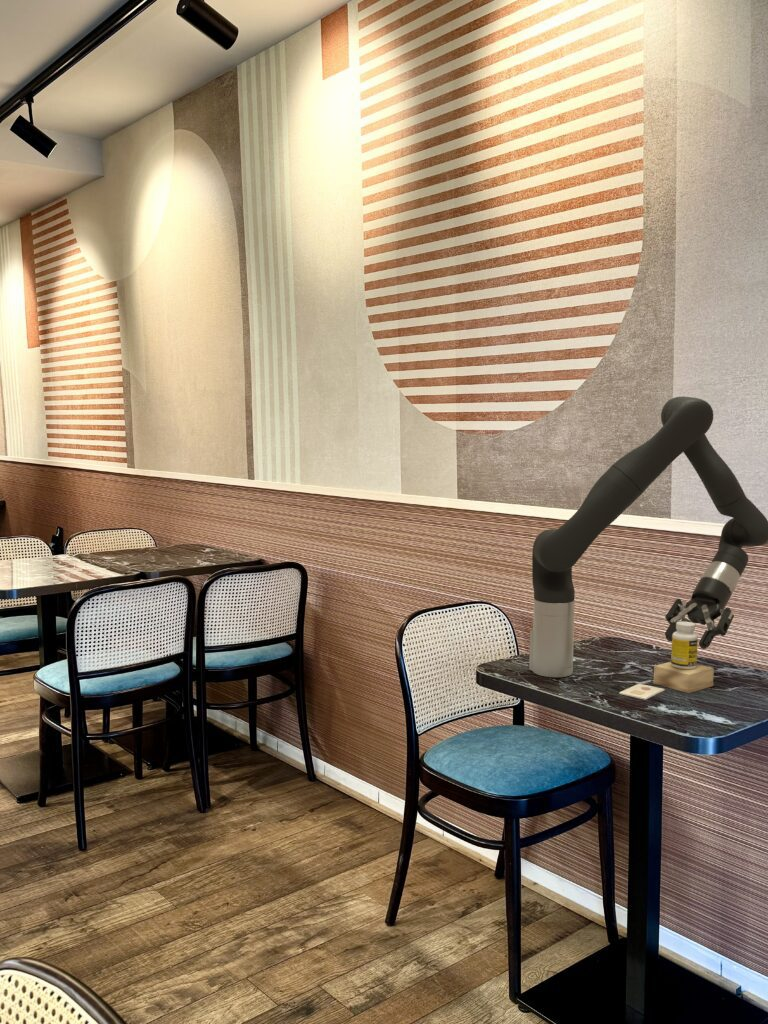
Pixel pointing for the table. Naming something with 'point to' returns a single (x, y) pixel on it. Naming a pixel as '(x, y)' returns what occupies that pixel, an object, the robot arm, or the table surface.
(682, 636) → the supplement bottle
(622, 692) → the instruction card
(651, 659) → the table surface
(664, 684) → the beech block
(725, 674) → the table surface
